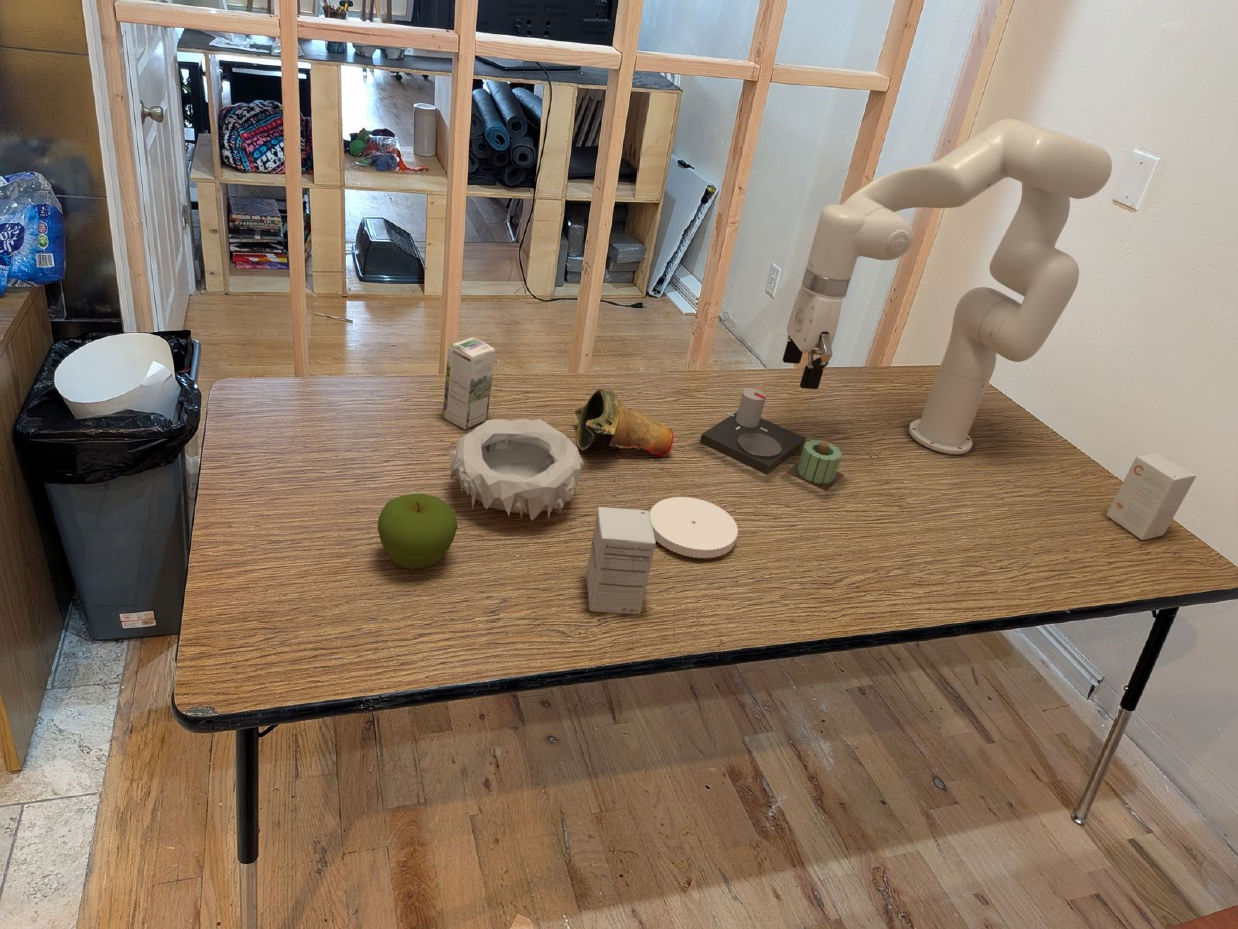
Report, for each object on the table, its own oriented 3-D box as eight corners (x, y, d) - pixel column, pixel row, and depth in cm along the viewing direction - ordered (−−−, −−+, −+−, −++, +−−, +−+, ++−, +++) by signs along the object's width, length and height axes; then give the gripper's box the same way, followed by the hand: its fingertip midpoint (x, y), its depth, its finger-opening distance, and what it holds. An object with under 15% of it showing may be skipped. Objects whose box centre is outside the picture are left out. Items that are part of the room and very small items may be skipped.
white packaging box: (584, 577, 131) (597, 504, 124) (635, 581, 132) (651, 509, 125) (587, 612, 124) (600, 537, 118) (641, 616, 125) (657, 542, 119)
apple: (417, 596, 122) (420, 535, 117) (359, 562, 126) (359, 502, 121) (470, 559, 130) (475, 501, 125) (414, 528, 134) (417, 470, 129)
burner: (750, 430, 170) (750, 428, 170) (788, 448, 166) (789, 445, 166) (728, 445, 164) (729, 442, 164) (768, 463, 160) (768, 460, 160)
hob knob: (731, 421, 172) (738, 391, 169) (742, 414, 175) (750, 384, 172) (751, 430, 170) (759, 400, 167) (762, 423, 173) (770, 393, 170)
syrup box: (464, 408, 166) (470, 335, 159) (488, 421, 164) (496, 347, 156) (442, 418, 162) (446, 343, 155) (466, 431, 160) (472, 355, 152)
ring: (806, 459, 168) (814, 436, 165) (839, 474, 165) (847, 451, 162) (791, 472, 163) (798, 448, 160) (824, 488, 160) (832, 464, 157)
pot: (696, 427, 155) (602, 390, 148) (671, 488, 156) (576, 455, 150) (661, 408, 171) (574, 374, 164) (638, 464, 172) (551, 433, 166)
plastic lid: (745, 564, 139) (749, 551, 138) (655, 562, 136) (658, 549, 135) (721, 511, 151) (725, 498, 150) (638, 508, 148) (641, 495, 146)
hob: (734, 420, 179) (738, 405, 178) (802, 451, 173) (806, 436, 171) (694, 446, 168) (697, 431, 166) (765, 480, 161) (769, 465, 160)
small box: (1163, 536, 167) (1198, 475, 160) (1141, 541, 164) (1175, 480, 157) (1126, 510, 173) (1158, 451, 166) (1104, 515, 170) (1135, 455, 163)
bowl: (601, 492, 150) (610, 439, 145) (540, 555, 133) (548, 498, 128) (492, 450, 156) (497, 397, 151) (421, 504, 139) (424, 448, 134)
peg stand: (803, 462, 169) (813, 428, 165) (842, 480, 166) (854, 446, 162) (784, 477, 163) (794, 442, 159) (824, 497, 160) (836, 461, 156)
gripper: (788, 261, 158) (765, 351, 167) (822, 300, 144) (794, 397, 153) (829, 265, 160) (803, 354, 169) (866, 304, 146) (836, 400, 154)
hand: (799, 374), depth 161 cm, fingers open, 9 cm apart
